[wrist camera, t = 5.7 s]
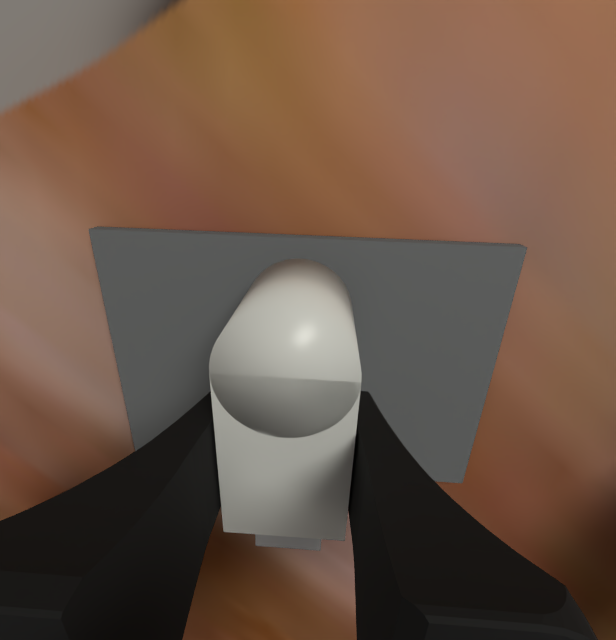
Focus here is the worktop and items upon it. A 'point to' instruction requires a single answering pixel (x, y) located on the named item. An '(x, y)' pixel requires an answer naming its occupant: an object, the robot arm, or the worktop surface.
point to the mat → (368, 311)
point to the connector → (287, 407)
